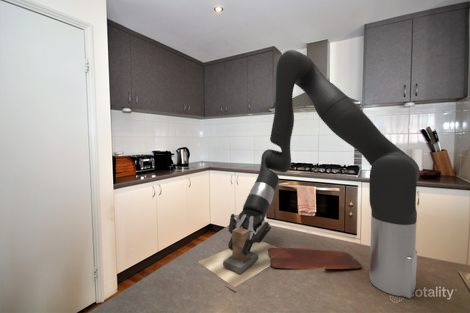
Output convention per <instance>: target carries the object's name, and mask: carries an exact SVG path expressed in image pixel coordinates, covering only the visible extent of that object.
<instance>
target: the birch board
mask: <svg viewBox="0 0 470 313" xmlns="http://www.w3.org/2000/svg"><path fill="white" fill-rule="evenodd" d="M269 248H278V247H277V246H275V245H272V244H269V243H267V242H264V241H263V240H262V241H261V242H260V243H258V242H255V243H253V245H252V247H251V250H250V252H253V253H256V254H258V260H257V261H255V262H254V263H253V264H252V265H250V266H249V267H248V268H247V269H246V270H244V271H243V272H242V273H241V274H240V273H238V272H236V271H233V270H231V269H229V268H226V267H224V266H223V261H224V260H225V259H227V258H228V257H230V256H231V255H232V250H230V249H229V248H227V249H224V250H222V251H219V252H217V253H215V254H213V255H211V256H207V257H206V258H204V259H201V260H199V261H198V263H199V264H200V265H201V266H203V267H204V268H206V269H208V271H210V272H212V273H213V274H214V275H216V276H217V277H219V278H220V279H222V280H223V281H225V282H227V283H228V284H229V285H230V286H232V287H233V288H236V287H237V286H239V285H241V284H242V283H244V282H246V281H248V280H250V278H252V277H255V276H256V275H257V274H259V273H261V272H262V271H264V270H266V269H267V268H269V267H270V266H271V267H272V265H271V263H270V259H271V258H270V256H269V253H268V251H267V250H268V249H269ZM224 287H226V288H227V289H228V290H229V291H230V292H232V293H233V294H235V293H237V291H236V290H234V289H233V288H230V287H229V286H226V285H224Z"/></svg>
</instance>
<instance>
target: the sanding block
mask: <svg viewBox="0 0 470 313" xmlns="http://www.w3.org/2000/svg"><path fill="white" fill-rule="evenodd" d="M248 234H249V230H246V229H243V228H242V227H241V228H236V229H234V230H232V234H231V237H232V247H233V251H232V255H231V256H230V257H228V258H227V259H225V260H224V261H223V266H224V267H226V268H229V269H231V270H233V271H236V272H238V273H240V274H241V273H242V272H243V271H244V270H246V269H247V268H248V267H249V266H250V265H252V264H253V263H254V262H255V261H257V260H258V254H256V253H253V252H249V254H247V255H246V256H245V255H243V254H242V253H241V251H242V249H243V246H244V244H245V242H246V240H248Z"/></svg>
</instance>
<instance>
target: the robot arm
mask: <svg viewBox="0 0 470 313" xmlns="http://www.w3.org/2000/svg"><path fill="white" fill-rule="evenodd" d="M275 71H276V72H275V74H276V75H275V98H274V100H275V102H274V104H275V105H274V113H273V122H272V126H271V132H270V138H269V141H270V143H271V144H273V145H276V146H278V147H279V148H280V150H281V151H278V150H275V149H271V148H269V149H266V150H264V151H263V153H262V154H261V157H260V158H261V159H260V160H261V161H260V167H259V172H258V175H257V177H256V180H255V182H254V184H253V186H252V187H251V189H250V191H249V193H248V194H247V197H246V199H245V202H244V204H243V207H242V211H241V212H240V213H239V214H234V213H232V214H230V218H229V226H228V232H229V233H230V234H231V235H232V230H234V229H236V228H243V229H246V230H249V234H248V240H246V242H245V244H244V246H243V249H242V251H241V253H242V254H243V255H245V256H246V255H247V254H249V252H250V250H251V247H252V245H253V243H255V242H258V243H260V242H261V241H262V242H263V240H264V238H265V237H266V236H267V235H268V233H269V232H270V230H271V229H272V225H271V224H270V222H268V221H265V218H266V217H267V215H268V212H269V209H270V207H271V203H272V201H273V198H274V195H275V191H276V189H277V186H278V185H279V182H280V181H279V180H280V178H279V175H278V174H277V173H276V172H279V173H284V174H285V173H287V172H288V171H289V170H290V169H291V165H292V156H291V139H292V135H293V130H294V125H295V114H294V105H293V97H294V96H293V94H294V89H295V85H296V86H297V87H299V89H301V90H302V91H303V92H304V93H305V94H306V95H307V96H308V97H309V98H310V100H311V102H312V105H313V107H314V110H315V111H316V114H317V115H318V117H319V118H320V119H321V121H322V122H323V123H324V124H325V125H326V126H327V127H328V128H329V130H330V131H332V132H333V133H334V135H336V136H337V137H338V138H340V139H341V140H343V141H344V142H346V143H347V145H349V146H351V147H353V148H354V149H355V150H357V151H358V152H359V153H360V154H361V155H362V156H363V158H365V160H366V161H367V163H368V164H369V165H370V166H371V167H370V169H369V178H368V180H369V181H368V182H369V184H368V185H369V186H368V187H369V188H368V189H369V190H368V192H369V194H368V195H369V197H368V198H369V206H370V209H371V210H370V211H371V214H370V215H371V217H370V250H369V252H370V253H369V254H370V255H369V281H370V282H371V284H372V286H374V287H375V288H377V289H378V290H380V291H382V292H383V293H387V294H390V295H393V296H399V297H405V298H407V299H412V297H413V294H414V292H415V290H416V285H417V284H416V283H417V282H416V281H417V261H418V251H417V250H416V243H417V242H416V241H417V239H416V238H417V221H418V220H417V216H418V212H417V185H418V184H417V182H418V181H419V178H420V177H421V176H420V175H421V170H420V166H419V165H418V163H417V161H415V159H414V158H412V157H411V156H410V155H408V154H407V153H406V152H405V151H403V150H401V149H400V148H399V147H398V146H397V145H395V144H394V143H393V142H392V141H391V140H390V139H388V138H387V137H386V136H385V135H384V134H383V133H382V132H381V131H380V130H379V129H378V127H377V126H376V125H375V123H373V121H372V120H371V119H370V118H369V117H368V116H367V114H365V112H364V111H363V110H362V109H361V108H360V107H359V106H358V105H357V104H356V103H355V102H354V101H353V100H352V99H351V98H350V97H349V96H348V95H347V94H345V93H344V92H343V91H342V90H341V89H340V88H338V87H337V86H336V85H335V84H334V83H333V82H331V81H329V79H328V78H326V76H325V75H324V74H323V72H321V71H320V69H319V68H318V67H317V65H316V64H315V62H314V61H313V60H312V59H311V58H310V57H309V56H307V54H304V53H301V51H297V50H296V49H288V50H286V51H284V52H283V53H282V54H281V55H280V56H279V58H278V61H277V64H276V70H275ZM274 171H275V172H274ZM258 229H259V230H258ZM227 246H228V248H227V249H230V250H232V251H233V247H232V236H231V237H230V239H229V242H228V245H227Z"/></svg>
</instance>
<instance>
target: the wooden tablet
mask: <svg viewBox="0 0 470 313" xmlns="http://www.w3.org/2000/svg"><path fill="white" fill-rule="evenodd" d="M267 251H268V253H269V256H270V258H271V259H270V263H271V267H272V268H278V269H289V270H290V269H294V270H295V269H296V270H315V269H323V268H324V270H338V269H339V270H342V269H343V270H345V269H358V268H359V269H360V268H363V265H362V264H361V263H360V261H358V259H356V258H355V257H354V256H353V255H351V254H350V253H349V252H346V251H339V250H338V251H337V250H328V249H327V250H323V249H315V248H314V249H313V248H302V247H301V248H300V247H299V248H298V247H277V248H269V249H268V250H267Z"/></svg>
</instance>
